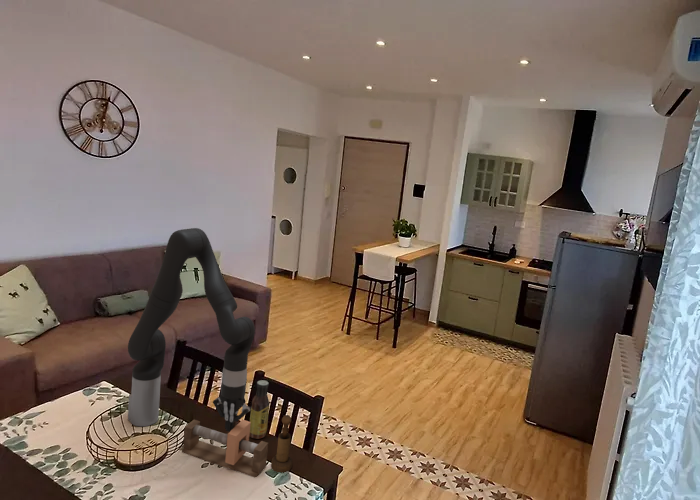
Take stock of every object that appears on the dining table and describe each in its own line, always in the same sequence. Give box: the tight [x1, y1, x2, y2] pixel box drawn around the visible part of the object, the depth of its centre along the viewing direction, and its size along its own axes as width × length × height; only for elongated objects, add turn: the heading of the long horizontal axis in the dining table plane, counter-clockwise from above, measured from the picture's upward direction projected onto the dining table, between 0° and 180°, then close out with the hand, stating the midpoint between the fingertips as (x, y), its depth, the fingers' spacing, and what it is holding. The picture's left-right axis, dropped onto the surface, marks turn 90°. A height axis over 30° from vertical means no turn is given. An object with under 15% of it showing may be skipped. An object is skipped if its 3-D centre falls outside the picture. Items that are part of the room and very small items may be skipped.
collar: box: [225, 419, 251, 465], centre depth 153 cm, size 3×9×10 cm, turn 163°
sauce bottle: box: [249, 379, 270, 440], centre depth 169 cm, size 7×6×20 cm
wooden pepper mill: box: [270, 414, 293, 474], centre depth 153 cm, size 7×6×18 cm
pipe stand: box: [181, 419, 269, 478], centre depth 154 cm, size 27×7×9 cm, turn 73°
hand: (229, 430), depth 153 cm, fingers closed
